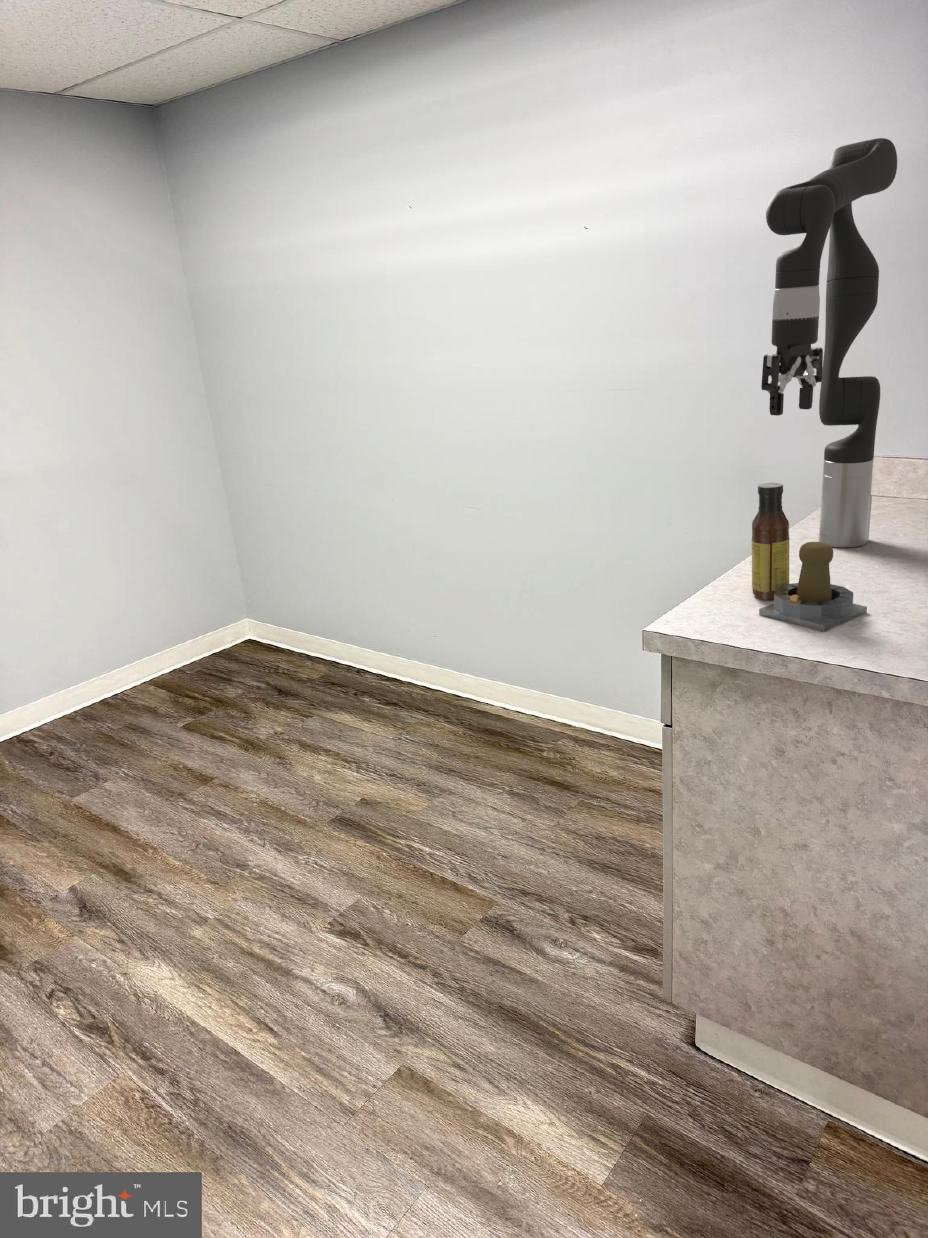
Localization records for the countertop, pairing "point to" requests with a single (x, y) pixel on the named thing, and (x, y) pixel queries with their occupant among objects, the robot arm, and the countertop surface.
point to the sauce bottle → (770, 543)
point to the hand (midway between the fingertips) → (791, 411)
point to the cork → (815, 572)
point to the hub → (813, 608)
